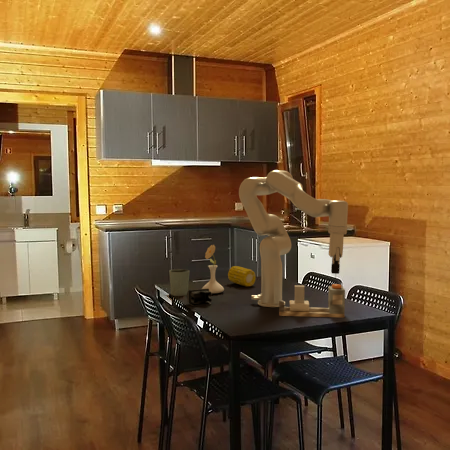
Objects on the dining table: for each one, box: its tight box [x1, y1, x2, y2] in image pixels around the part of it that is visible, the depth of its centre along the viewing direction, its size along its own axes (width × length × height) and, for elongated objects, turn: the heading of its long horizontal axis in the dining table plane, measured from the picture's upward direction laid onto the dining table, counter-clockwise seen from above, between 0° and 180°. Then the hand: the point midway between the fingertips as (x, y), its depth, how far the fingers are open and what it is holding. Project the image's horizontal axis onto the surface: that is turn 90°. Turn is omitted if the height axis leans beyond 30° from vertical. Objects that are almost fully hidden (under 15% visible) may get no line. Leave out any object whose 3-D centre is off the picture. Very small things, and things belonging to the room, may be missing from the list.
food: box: [227, 265, 257, 288], centre depth 283 cm, size 15×12×10 cm
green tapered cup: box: [168, 268, 191, 297], centre depth 258 cm, size 10×10×12 cm
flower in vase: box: [201, 244, 225, 294], centre depth 261 cm, size 13×11×25 cm
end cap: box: [186, 288, 213, 307], centre depth 237 cm, size 10×7×7 cm
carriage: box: [289, 284, 310, 311], centre depth 219 cm, size 8×7×10 cm
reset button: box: [331, 283, 343, 289], centre depth 217 cm, size 4×4×1 cm
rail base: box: [278, 285, 346, 318], centre depth 218 cm, size 27×8×12 cm, turn 84°
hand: (335, 273), depth 217 cm, fingers closed
